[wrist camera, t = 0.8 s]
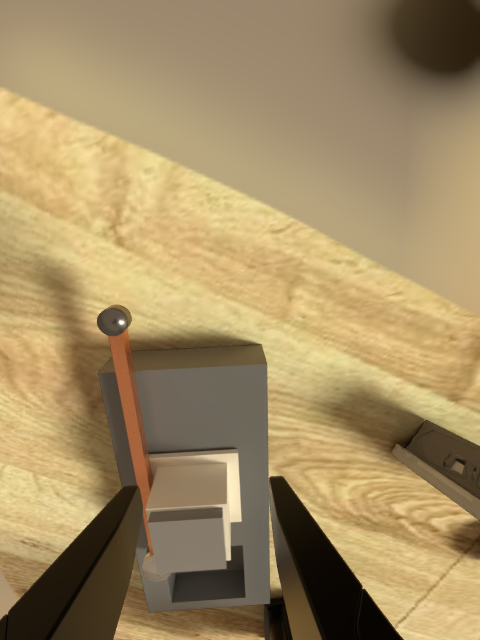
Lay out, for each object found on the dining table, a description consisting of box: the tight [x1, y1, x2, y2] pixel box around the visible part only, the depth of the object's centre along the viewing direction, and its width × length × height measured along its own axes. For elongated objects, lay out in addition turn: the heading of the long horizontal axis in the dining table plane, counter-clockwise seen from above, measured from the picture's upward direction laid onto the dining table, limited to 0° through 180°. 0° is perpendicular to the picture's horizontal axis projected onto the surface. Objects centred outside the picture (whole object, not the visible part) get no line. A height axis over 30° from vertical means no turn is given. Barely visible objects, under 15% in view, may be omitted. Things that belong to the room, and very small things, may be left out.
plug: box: [145, 449, 242, 574], centre depth 19 cm, size 6×6×6 cm
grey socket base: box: [98, 345, 270, 613], centre depth 22 cm, size 22×10×4 cm, turn 2°
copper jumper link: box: [97, 305, 171, 582], centre depth 18 cm, size 19×2×1 cm, turn 2°
